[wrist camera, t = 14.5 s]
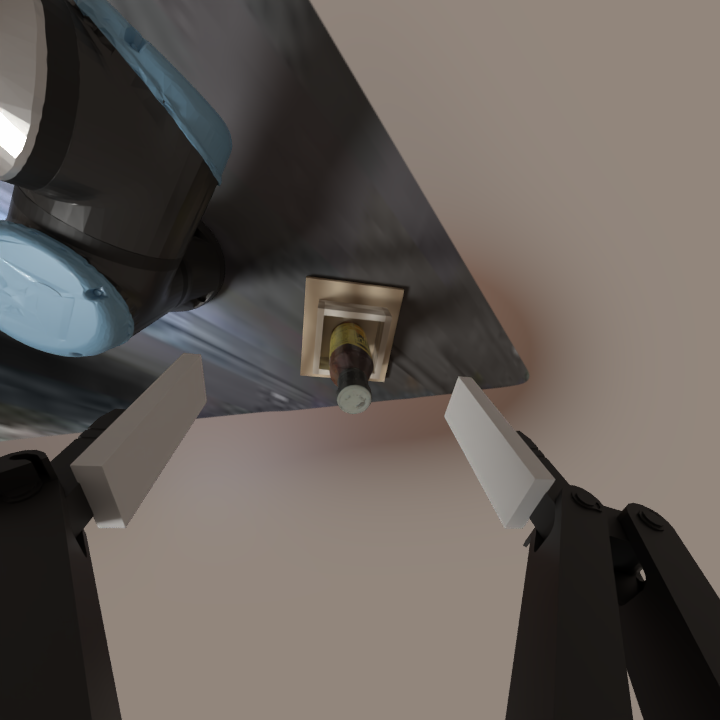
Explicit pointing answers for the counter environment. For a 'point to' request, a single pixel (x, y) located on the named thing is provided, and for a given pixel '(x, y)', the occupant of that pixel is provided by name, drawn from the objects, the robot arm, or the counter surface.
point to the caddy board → (348, 304)
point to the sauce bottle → (351, 367)
